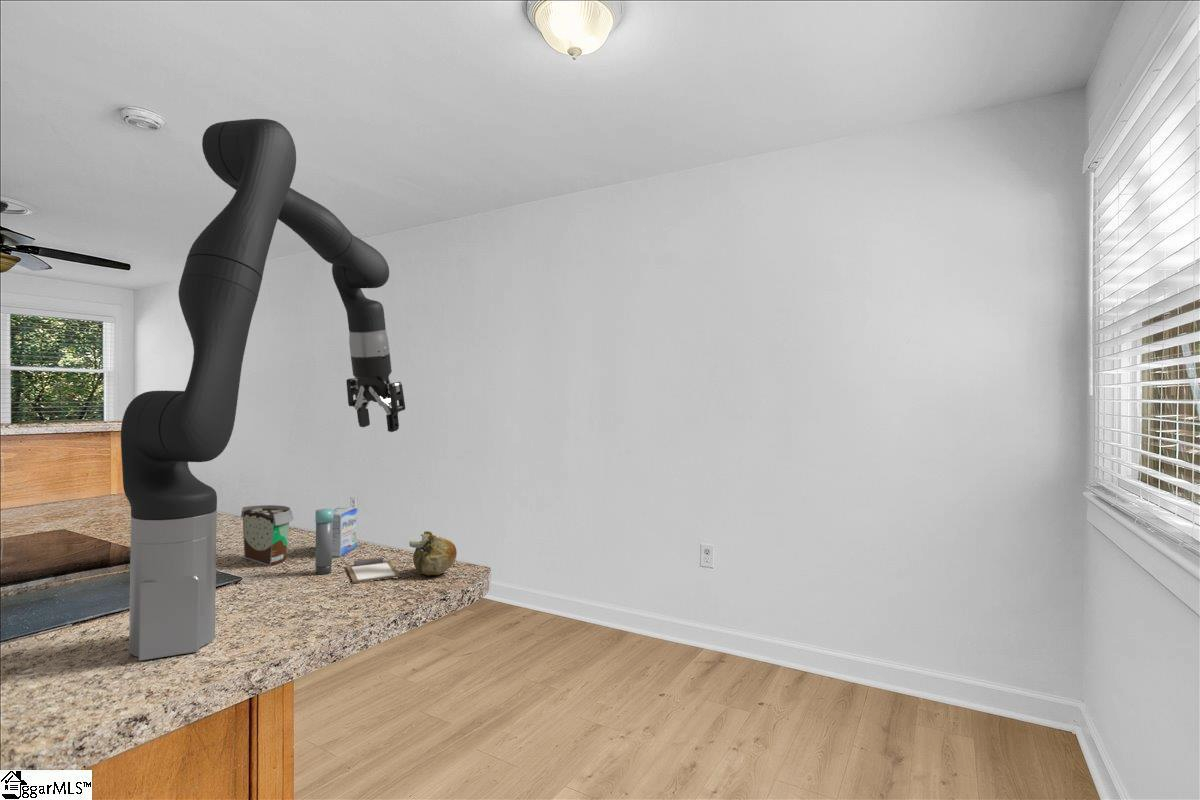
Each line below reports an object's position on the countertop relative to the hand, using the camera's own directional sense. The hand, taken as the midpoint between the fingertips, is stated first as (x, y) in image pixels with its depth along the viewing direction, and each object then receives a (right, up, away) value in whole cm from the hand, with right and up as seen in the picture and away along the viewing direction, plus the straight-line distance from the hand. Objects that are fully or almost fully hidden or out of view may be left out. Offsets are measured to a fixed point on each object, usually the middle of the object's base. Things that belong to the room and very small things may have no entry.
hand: (378, 428), depth 127 cm
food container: (-18, -26, -8) cm, 32 cm away
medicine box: (-8, -26, -2) cm, 27 cm away
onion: (+16, -26, -15) cm, 34 cm away
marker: (-4, -26, -16) cm, 31 cm away
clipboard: (+4, -26, -15) cm, 30 cm away
